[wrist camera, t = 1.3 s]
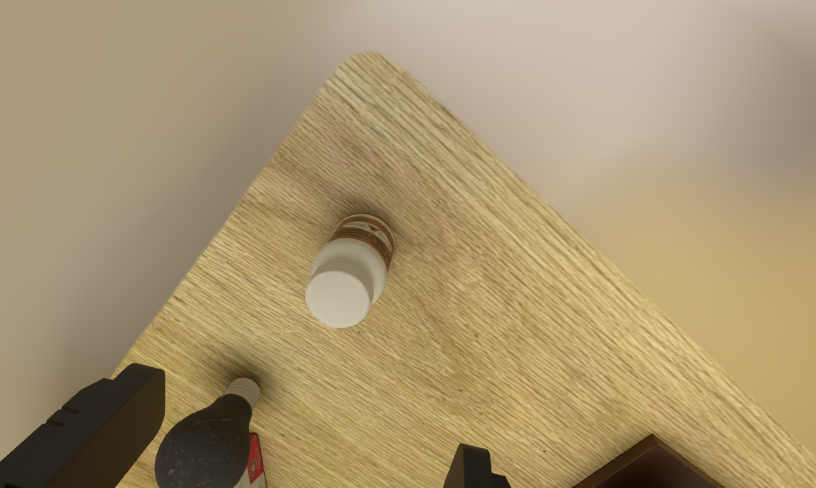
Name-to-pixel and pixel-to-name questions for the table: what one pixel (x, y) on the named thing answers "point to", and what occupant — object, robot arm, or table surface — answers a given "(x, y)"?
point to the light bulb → (210, 442)
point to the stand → (649, 470)
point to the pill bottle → (350, 271)
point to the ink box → (253, 468)
